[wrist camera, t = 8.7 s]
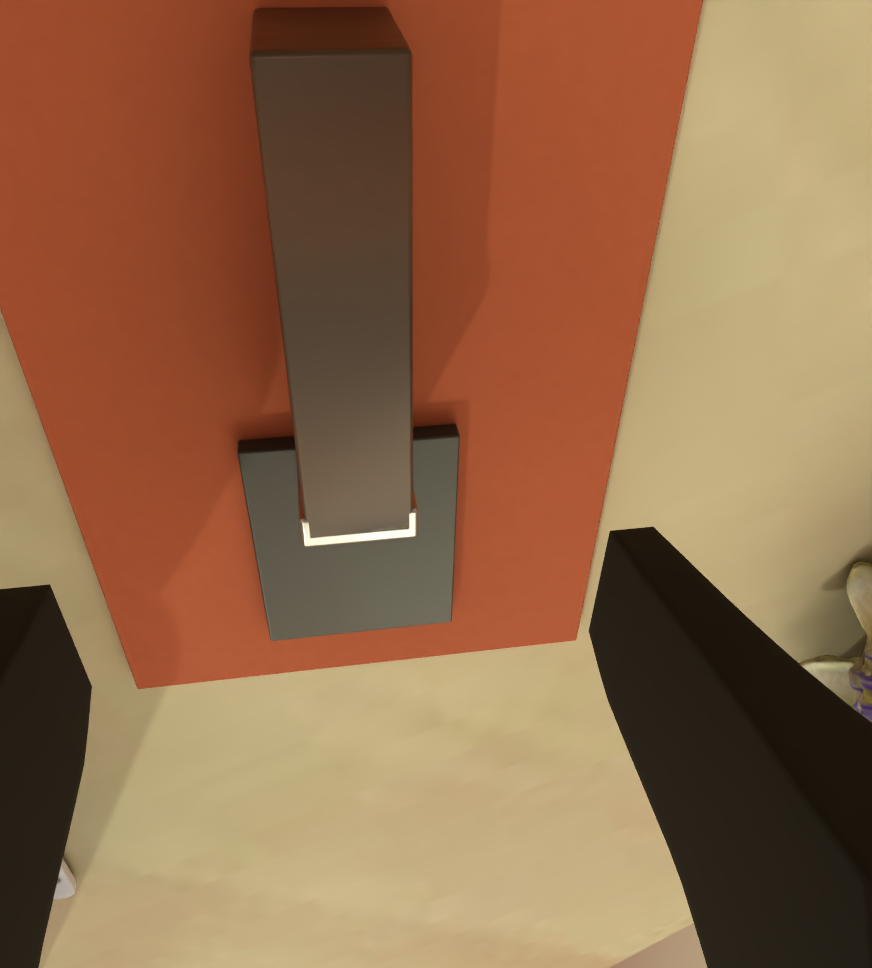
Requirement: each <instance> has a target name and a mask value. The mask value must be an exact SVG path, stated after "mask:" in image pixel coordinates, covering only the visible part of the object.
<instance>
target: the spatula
mask: <svg viewBox="0 0 872 968" xmlns="http://www.w3.org/2000/svg"><path fill="white" fill-rule="evenodd" d="M249 61H250V69H251V78H252V86H253V95H254V103H255V112H256V120H257V128H258V137H259V145H260V154H261V162H262V170H263V179H264V187H265V196H266V204H267V213H268V221H269V229H270V238H271V246H272V255H273V263H274V272H275V280H276V288H277V297H278V305H279V314H280V322H281V331H282V339H283V347H284V356H285V364H286V373H287V381H288V390H289V398H290V406H291V415H292V423H293V432H294V436H289V437H276V438H263V439H249V440H239V441H238V449H237V455H238V460H239V466H240V472H241V477H242V483H243V488H244V494H245V500H246V505H247V511H248V517H249V522H250V528H251V534H252V539H253V545H254V550H255V556H256V562H257V567H258V573H259V579H260V584H261V590H262V596H263V601H264V607H265V613H266V618H267V624H268V629H269V635H270V640H271V641H278V640H287V639H297V638H306V637H315V636H325V635H334V634H343V633H353V632H362V631H371V630H381V629H390V628H400V627H409V626H418V625H428V624H437V623H446V622H451V621H452V605H453V583H454V560H455V538H456V515H457V492H458V470H459V447H460V434H459V431H458V427H457V425H456V424H447V425H434V426H421V427H413V138H412V52H411V50H410V48H409V46H408V44H407V42H406V40H405V38H404V36H403V35H402V33H401V31H400V29H399V27H398V25H397V23H396V22H395V20H394V18H393V16H392V14H391V12H390V10H389V9H388V8H386V7H308V8H257V9H255V10H254V13H253V21H252V32H251V42H250V53H249Z"/></svg>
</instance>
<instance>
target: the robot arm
mask: <svg viewBox="0 0 872 968" xmlns="http://www.w3.org/2000/svg"><path fill="white" fill-rule="evenodd" d="M589 633H590V637H591V641H592V645H593V648H594V652H595V656H596V660H597V664H598V668H599V671H600V674H601V678H602V681H603V685H604V688H605V692H606V695H607V699H608V701H609V704H610V706H611V709H612V711H613V714H614V716H615V719H616V721H617V724H618V726H619V729H620V731H621V734H622V736H623V739H624V741H625V743H626V746H627V748H628V751H629V753H630V756H631V758H632V761H633V763H634V765H635V768H636V770H637V773H638V775H639V777H640V780H641V782H642V785H643V787H644V789H645V792H646V794H647V797H648V799H649V801H650V804H651V806H652V809H653V811H654V814H655V816H656V818H657V821H658V823H659V826H660V828H661V830H662V833H663V835H664V838H665V840H666V842H667V845H668V847H669V850H670V853H671V855H672V858H673V861H674V863H675V866H676V869H677V872H678V874H679V877H680V880H681V882H682V885H683V889H684V892H685V895H686V898H687V902H688V905H689V908H690V911H691V915H692V918H693V921H694V924H695V928H696V931H697V934H698V937H699V941H700V944H701V947H702V950H703V954H704V957H705V960H706V964H707V967H708V968H872V722H870V721H869V720H868V719H866V718H865V717H864V716H863V715H861V714H860V713H859V712H857V711H856V710H855V709H853V708H852V707H851V706H850V705H848V704H847V703H846V702H845V701H843V700H842V699H841V698H840V697H839V696H837V695H836V694H835V693H834V692H833V691H831V690H830V689H829V688H828V687H826V686H825V685H824V684H823V683H822V682H820V681H819V680H818V679H817V678H815V677H814V676H813V675H812V674H811V673H809V672H808V671H807V670H806V669H805V668H803V667H802V666H801V665H800V664H799V663H798V662H796V661H795V660H794V659H793V658H792V657H791V656H790V655H788V654H787V653H786V652H785V651H784V650H783V649H782V648H781V647H779V646H778V645H777V644H776V643H775V642H774V641H773V640H772V639H771V638H770V637H768V636H767V635H766V634H765V633H764V632H763V631H762V630H761V629H760V628H758V627H757V626H756V625H755V624H754V623H753V622H752V621H751V620H750V619H749V618H747V617H746V616H745V615H744V614H743V613H742V612H741V611H740V610H739V609H738V608H737V607H736V606H735V605H734V604H733V603H731V602H730V601H729V600H728V599H727V598H726V597H725V596H724V595H723V594H722V593H721V592H720V591H719V590H718V589H717V588H716V587H715V586H714V585H713V584H712V583H711V582H710V581H709V580H708V579H707V578H705V577H704V576H703V575H702V574H701V573H700V572H699V571H698V570H697V569H696V568H695V567H694V566H693V565H692V564H691V563H690V562H689V561H688V560H687V559H686V558H685V557H684V556H683V555H682V554H681V553H680V552H679V551H678V550H677V549H676V548H675V547H674V546H673V545H672V544H671V543H669V542H668V541H667V540H666V539H665V538H664V537H663V536H662V535H661V534H660V533H659V532H658V531H657V530H656V529H655V528H654V527H646V528H635V529H625V530H615V531H610V533H609V538H608V543H607V547H606V552H605V557H604V561H603V566H602V571H601V576H600V580H599V585H598V590H597V595H596V599H595V604H594V609H593V613H592V618H591V623H590V628H589ZM91 689H92V686H91V683H90V681H89V679H88V676H87V674H86V671H85V669H84V666H83V664H82V662H81V659H80V657H79V654H78V652H77V649H76V647H75V645H74V642H73V640H72V637H71V635H70V632H69V630H68V628H67V625H66V623H65V620H64V618H63V615H62V613H61V610H60V608H59V606H58V603H57V601H56V598H55V596H54V593H53V591H52V589H51V586H50V585H41V586H31V587H20V588H10V589H0V968H38V967H39V962H40V957H41V951H42V946H43V941H44V937H45V933H46V928H47V924H48V920H49V915H50V911H51V907H52V902H53V900H56V899H63V898H68V897H70V896H72V895H73V894H74V893H75V891H76V885H77V882H76V880H75V878H74V876H73V875H72V873H71V871H70V870H69V868H68V866H67V864H66V863H65V861H64V859H63V855H64V851H65V846H66V842H67V838H68V834H69V829H70V825H71V820H72V816H73V812H74V807H75V803H76V798H77V794H78V789H79V785H80V780H81V776H82V771H83V766H84V760H85V751H86V742H87V733H88V723H89V712H90V700H91Z"/></svg>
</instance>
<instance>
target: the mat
mask: <svg viewBox="0 0 872 968" xmlns="http://www.w3.org/2000/svg"><path fill="white" fill-rule="evenodd" d="M702 3H703V0H0V309H1V311H2V314H3V317H4V320H5V322H6V325H7V328H8V331H9V334H10V336H11V339H12V342H13V345H14V347H15V350H16V353H17V356H18V358H19V361H20V364H21V367H22V370H23V372H24V375H25V378H26V381H27V383H28V386H29V389H30V392H31V395H32V397H33V400H34V403H35V406H36V408H37V411H38V414H39V417H40V419H41V422H42V425H43V428H44V431H45V433H46V436H47V439H48V442H49V444H50V447H51V450H52V453H53V455H54V458H55V461H56V464H57V467H58V469H59V472H60V475H61V478H62V480H63V483H64V486H65V489H66V492H67V494H68V497H69V500H70V503H71V505H72V508H73V511H74V514H75V516H76V519H77V522H78V525H79V528H80V530H81V533H82V536H83V539H84V541H85V544H86V547H87V550H88V552H89V555H90V558H91V561H92V564H93V566H94V569H95V572H96V575H97V577H98V580H99V583H100V586H101V589H102V591H103V594H104V597H105V600H106V602H107V605H108V608H109V611H110V613H111V616H112V619H113V622H114V625H115V627H116V630H117V633H118V636H119V638H120V641H121V644H122V647H123V650H124V652H125V655H126V658H127V661H128V663H129V666H130V669H131V672H132V674H133V677H134V680H135V683H136V686H137V688H138V689H143V688H152V687H161V686H170V685H179V684H188V683H196V682H205V681H214V680H223V679H232V678H241V677H250V676H259V675H268V674H277V673H286V672H295V671H304V670H313V669H322V668H331V667H340V666H349V665H358V664H367V663H376V662H385V661H394V660H403V659H412V658H421V657H430V656H439V655H448V654H457V653H465V652H474V651H483V650H492V649H501V648H510V647H519V646H528V645H537V644H546V643H555V642H564V641H573V640H576V638H577V633H578V628H579V623H580V618H581V613H582V608H583V603H584V597H585V592H586V587H587V582H588V577H589V572H590V567H591V562H592V557H593V552H594V547H595V542H596V537H597V532H598V527H599V522H600V517H601V512H602V507H603V502H604V497H605V492H606V487H607V482H608V477H609V471H610V466H611V461H612V456H613V451H614V446H615V441H616V436H617V431H618V426H619V421H620V416H621V411H622V406H623V401H624V396H625V391H626V386H627V381H628V376H629V371H630V366H631V361H632V356H633V351H634V346H635V340H636V335H637V330H638V325H639V320H640V315H641V310H642V305H643V300H644V295H645V290H646V285H647V280H648V275H649V270H650V265H651V260H652V255H653V250H654V245H655V240H656V235H657V230H658V225H659V220H660V214H661V209H662V204H663V199H664V194H665V189H666V184H667V179H668V174H669V169H670V164H671V159H672V154H673V149H674V144H675V139H676V134H677V129H678V124H679V119H680V114H681V109H682V104H683V99H684V94H685V88H686V83H687V78H688V73H689V68H690V63H691V58H692V53H693V48H694V43H695V38H696V33H697V28H698V23H699V18H700V13H701V8H702ZM308 7H386V8H388V9H389V10H390V12H391V14H392V16H393V18H394V20H395V22H396V23H397V25H398V27H399V29H400V31H401V33H402V35H403V36H404V38H405V40H406V42H407V44H408V46H409V48H410V50H411V52H412V138H413V427H421V426H434V425H447V424H456V425H457V427H458V431H459V434H460V447H459V470H458V492H457V515H456V538H455V560H454V583H453V605H452V621H451V622H446V623H437V624H428V625H418V626H409V627H400V628H390V629H381V630H371V631H362V632H353V633H343V634H334V635H325V636H315V637H306V638H297V639H287V640H278V641H271V640H270V635H269V629H268V624H267V618H266V613H265V607H264V601H263V596H262V590H261V584H260V579H259V573H258V567H257V562H256V556H255V550H254V545H253V539H252V534H251V528H250V522H249V517H248V511H247V505H246V500H245V494H244V488H243V483H242V477H241V472H240V466H239V460H238V455H237V449H238V441H239V440H249V439H263V438H276V437H289V436H294V432H293V423H292V415H291V406H290V398H289V390H288V381H287V373H286V364H285V356H284V347H283V339H282V331H281V322H280V314H279V305H278V297H277V288H276V280H275V272H274V263H273V255H272V246H271V238H270V229H269V221H268V213H267V204H266V196H265V187H264V179H263V170H262V162H261V154H260V145H259V137H258V128H257V120H256V112H255V103H254V95H253V86H252V78H251V69H250V61H249V53H250V42H251V32H252V21H253V13H254V10H255V9H257V8H308Z"/></svg>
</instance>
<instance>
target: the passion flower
mask: <svg viewBox="0 0 872 968" xmlns="http://www.w3.org/2000/svg"><path fill="white" fill-rule="evenodd" d="M846 589H847V594H848V598H849V600H850V603H851V605H852V607H853V608H854V611H855V613H856V616H857V618H858V619H859V621H860V623H861V626H862V627H863V628H864V630H865V632H866V635H867V639H866V645H865V649H864V651H863V653H862V655H861V656H860V657H852V658H838V657H835V656H829V655H825V656H819V657H816V658H814V659H810V660H805V661H802V662H800V663H799V664H800V665H801V666H802V667H803V668H805V669H806V670H807V671H808V672H809V673H811V674H812V675H813V676H814V677H815V678H817V679H818V680H819V681H820V682H822V683H823V684H824V685H825V686H826V687H828V688H829V689H830V690H831V691H833V692H834V693H835V694H836V695H837V696H839V697H840V698H841V699H842V700H843V701H845V702H846V703H847V704H848V705H850V706H851V707H852V708H853V709H855V710H856V711H857V712H859V713H860V714H861V715H863V716H864V717H865V718H866V719H868V720H869V721H870V722H872V563H868V562H857V563H856V564H854V565H853V566H852V568H851V571H850V574H849V576H848V579H847V588H846Z"/></svg>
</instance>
